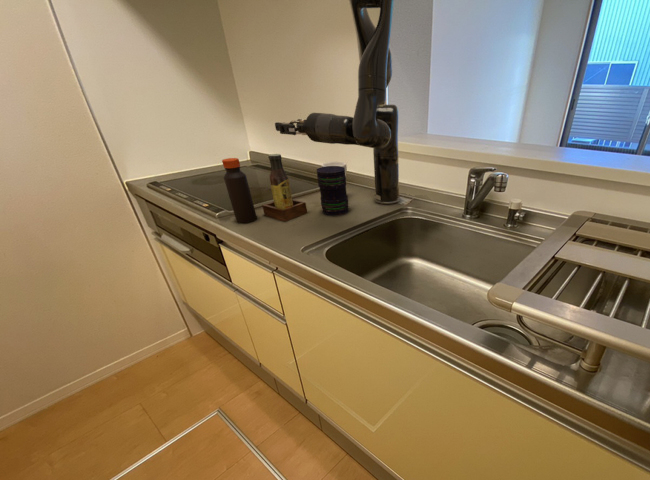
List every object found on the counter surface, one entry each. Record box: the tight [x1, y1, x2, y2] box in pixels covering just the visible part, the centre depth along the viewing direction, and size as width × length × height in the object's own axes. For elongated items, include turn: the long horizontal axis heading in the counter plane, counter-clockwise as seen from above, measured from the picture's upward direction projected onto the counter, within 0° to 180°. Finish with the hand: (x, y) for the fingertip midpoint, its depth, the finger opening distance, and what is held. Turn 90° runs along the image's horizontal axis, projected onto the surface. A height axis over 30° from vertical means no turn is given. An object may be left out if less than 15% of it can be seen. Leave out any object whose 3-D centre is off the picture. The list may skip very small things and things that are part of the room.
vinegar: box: [221, 157, 258, 224], centre depth 114 cm, size 7×7×20 cm
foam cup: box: [321, 161, 348, 177], centre depth 136 cm, size 10×9×13 cm
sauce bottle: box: [268, 153, 293, 209], centre depth 118 cm, size 7×6×20 cm
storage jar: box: [316, 166, 350, 217], centre depth 121 cm, size 10×10×15 cm
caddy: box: [261, 198, 308, 222], centre depth 123 cm, size 10×11×4 cm
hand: (287, 124), depth 104 cm, fingers open, 8 cm apart
